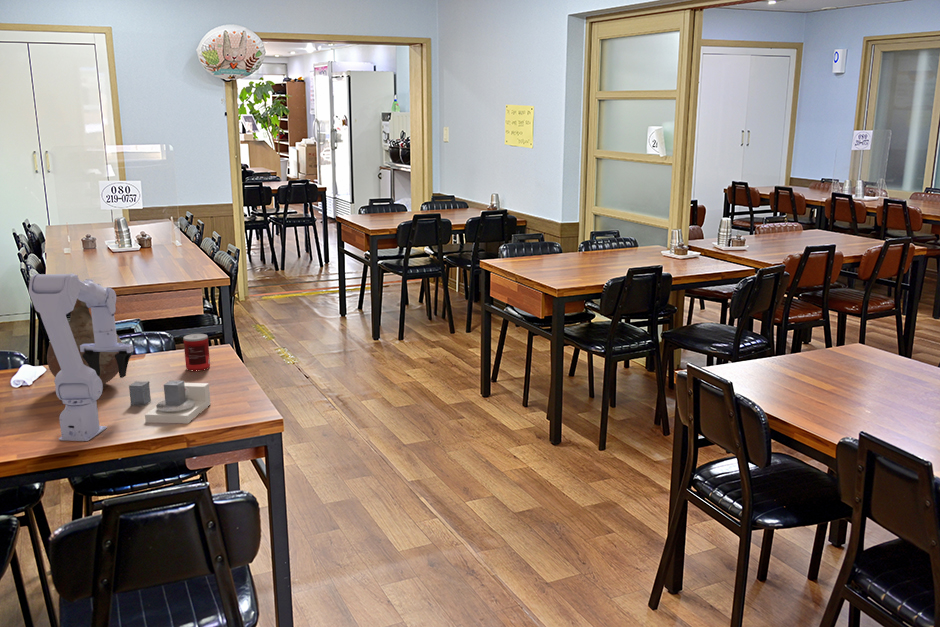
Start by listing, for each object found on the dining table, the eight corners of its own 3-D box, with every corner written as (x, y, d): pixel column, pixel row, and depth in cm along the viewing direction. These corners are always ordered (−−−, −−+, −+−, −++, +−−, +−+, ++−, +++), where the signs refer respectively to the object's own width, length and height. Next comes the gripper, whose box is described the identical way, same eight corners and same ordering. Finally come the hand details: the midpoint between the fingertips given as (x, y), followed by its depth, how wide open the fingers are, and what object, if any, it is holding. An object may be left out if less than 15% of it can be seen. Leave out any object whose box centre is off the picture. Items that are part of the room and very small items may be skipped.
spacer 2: (179, 405, 218) (177, 385, 217) (165, 405, 218) (163, 384, 217) (186, 401, 222) (184, 380, 221) (172, 400, 222) (170, 380, 221)
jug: (58, 380, 252) (46, 288, 246) (130, 374, 259) (121, 283, 252) (45, 402, 232) (31, 302, 225) (124, 394, 239) (113, 297, 232)
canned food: (200, 363, 270) (197, 332, 267) (215, 367, 265) (212, 335, 263) (181, 369, 264) (178, 337, 261) (195, 373, 259) (192, 340, 257)
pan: (185, 412, 215) (185, 410, 215) (149, 411, 216) (149, 409, 216) (200, 400, 225) (200, 398, 224) (166, 399, 225) (166, 397, 225)
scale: (188, 423, 214) (186, 400, 213) (145, 422, 215) (143, 399, 214) (210, 404, 229) (208, 383, 228) (170, 403, 230) (168, 382, 229)
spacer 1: (144, 405, 229) (142, 386, 227) (130, 405, 229) (128, 385, 228) (150, 401, 233) (148, 381, 231) (137, 400, 233) (135, 381, 232)
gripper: (136, 326, 223) (141, 372, 226) (87, 325, 225) (93, 371, 228) (123, 332, 217) (129, 380, 220) (73, 332, 218) (79, 379, 221)
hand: (110, 376), depth 223 cm, fingers open, 7 cm apart
